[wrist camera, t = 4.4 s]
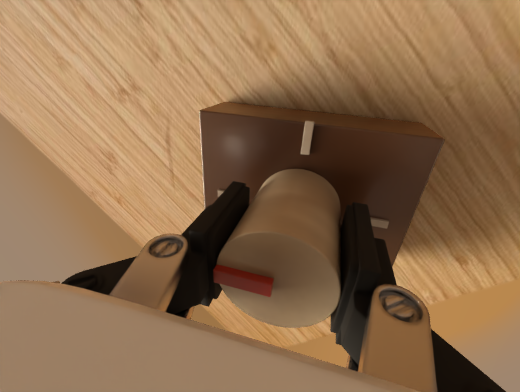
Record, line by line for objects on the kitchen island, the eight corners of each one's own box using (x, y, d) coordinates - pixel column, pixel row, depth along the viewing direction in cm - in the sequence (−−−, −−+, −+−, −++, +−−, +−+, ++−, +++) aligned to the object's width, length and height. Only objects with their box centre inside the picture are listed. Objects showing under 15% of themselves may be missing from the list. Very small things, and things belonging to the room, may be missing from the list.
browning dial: (349, 176, 11) (357, 256, 6) (331, 248, 13) (326, 350, 8) (259, 162, 12) (209, 224, 7) (255, 232, 14) (213, 316, 9)
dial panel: (423, 120, 12) (449, 137, 9) (375, 254, 16) (382, 294, 13) (224, 99, 14) (196, 108, 11) (225, 222, 18) (205, 251, 15)
